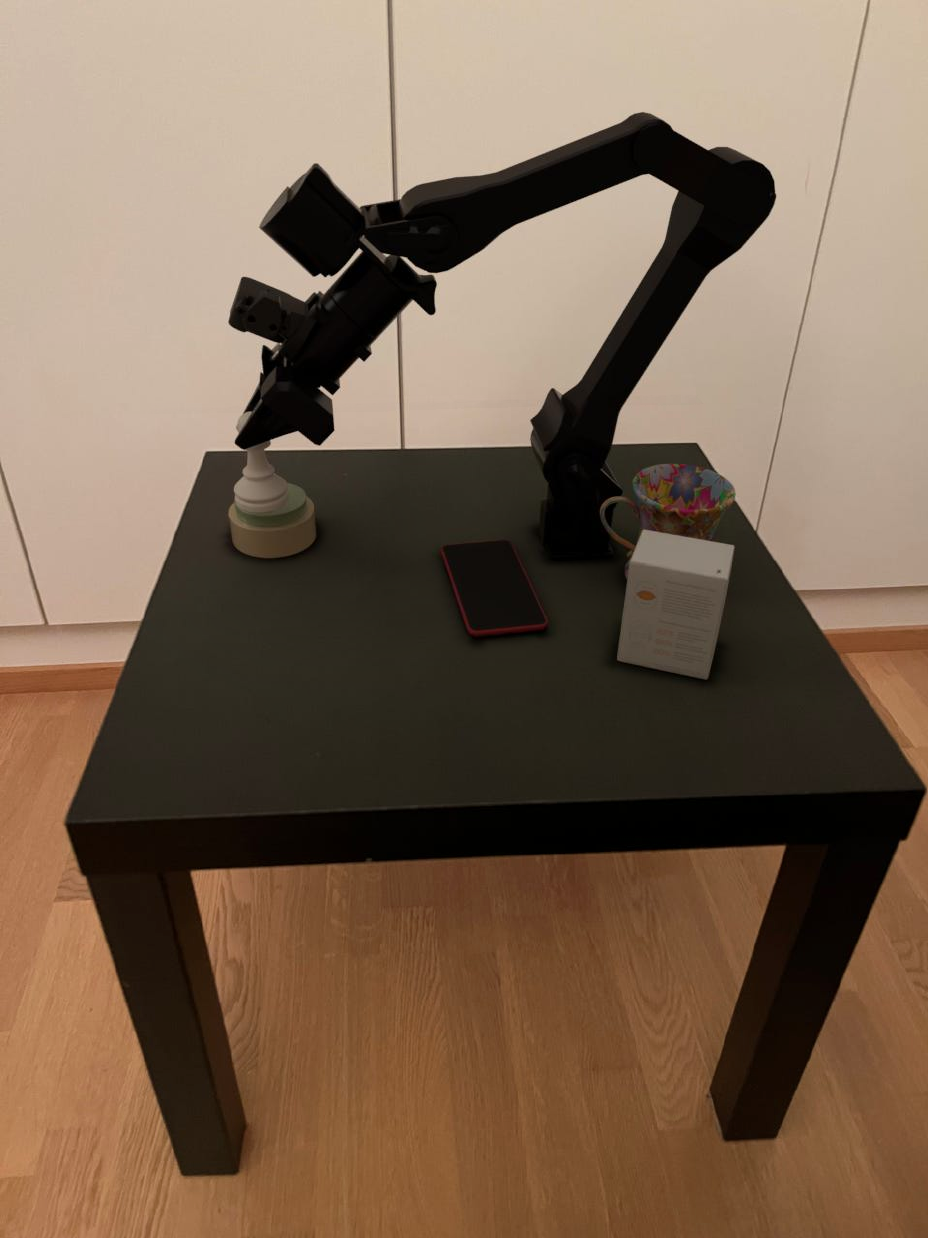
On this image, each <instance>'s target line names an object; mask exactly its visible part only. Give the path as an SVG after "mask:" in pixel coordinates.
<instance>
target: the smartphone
mask: <svg viewBox="0 0 928 1238" xmlns="http://www.w3.org/2000/svg"><path fill="white" fill-rule="evenodd" d="M440 553H441V557H442V559H443V562H444V565H445V568H446V572H447V574H448V577H449V579H450V584H451V586H452V588H453V591H454V595H455V597H456V601H457V603H458V606H459V609H460V612H461V615H462V618H463V621H464V624H465V627H466V630H467V632H468V634H469V635H471V636H473V637H477V638H478V637H488V636H489V637H490V636H497V635H498V636H499V635H507V634H517V633H527V632H535V631H536V632H537V631H542V630H544V629H545V628H546V627H547V626H548V618H547V616H546V614H545V612H544V610H543V608H542V605H541V603H540V600H539V598H538V596H537V594H536V592H535V590H534V588H533V585H532V583H531V581H530V579H529V577H528V574H527V572H526V571H525V568H524V566H523V563H522V561H521V560H520V557H519V555H518V553H517V551H516V549H515V546H514V544H513V542H512V541H510V540H507V539H495V540H492V539H491V540H482V541H472V542H460V543H449V544H444V545H443V546H442V547H441V548H440Z"/></svg>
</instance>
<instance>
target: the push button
mask: <svg viewBox="0 0 928 1238" xmlns="http://www.w3.org/2000/svg"><path fill="white" fill-rule="evenodd" d="M286 483H287V485H288V487H287V490H288V495H289V498H288V502H287V503H286V504H285V505H284V506H283V507H281V508H280V509H277V510H275V511H271V512H267V513H251V512H247V511H244V510H242V509H240V508H239V507H238V506H237V505H236V501H235V498H234V499H233V503H232V504H231V505H230V507H229V509H228V521H229V527H230V534H231V541H232V544H233V546H234V548H236V549H237V550H238V551H239V552H240V553H242V554H244V555H247V556H250V557H253V558H259V559H260V558H261V559H279V558H284V557H285V558H286V557H290V556H293V555H296V554H299V553H301V552H303V551H304V550H306V549H308V548H309V547H311V545H312V544H313V543H314V542H315V540H316V538H317V523H316V513H315V511H316V510H315V505H314V502H313V501H312V499H310V497H308V496H307V494H306V491H305V490H304V489H303V488H302V487H300V486H298V485H296V484H293V483H290V482H286Z"/></svg>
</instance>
